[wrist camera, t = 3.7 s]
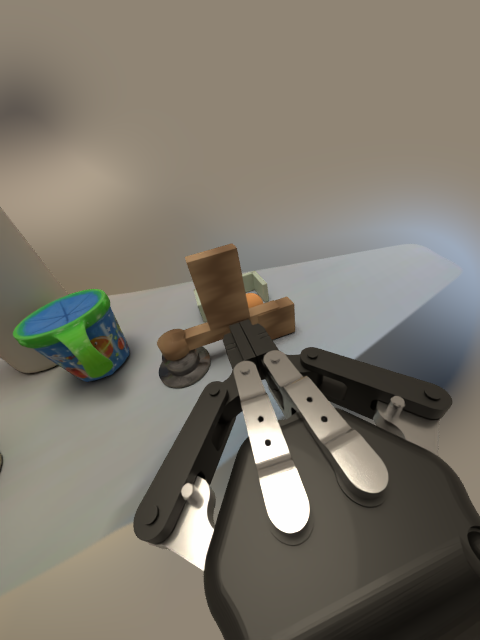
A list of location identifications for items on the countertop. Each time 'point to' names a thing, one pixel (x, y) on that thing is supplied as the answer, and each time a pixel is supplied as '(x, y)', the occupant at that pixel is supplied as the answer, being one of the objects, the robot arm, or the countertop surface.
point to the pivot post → (185, 368)
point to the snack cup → (76, 334)
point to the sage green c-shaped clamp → (250, 283)
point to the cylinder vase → (22, 295)
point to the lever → (224, 304)
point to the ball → (253, 300)
